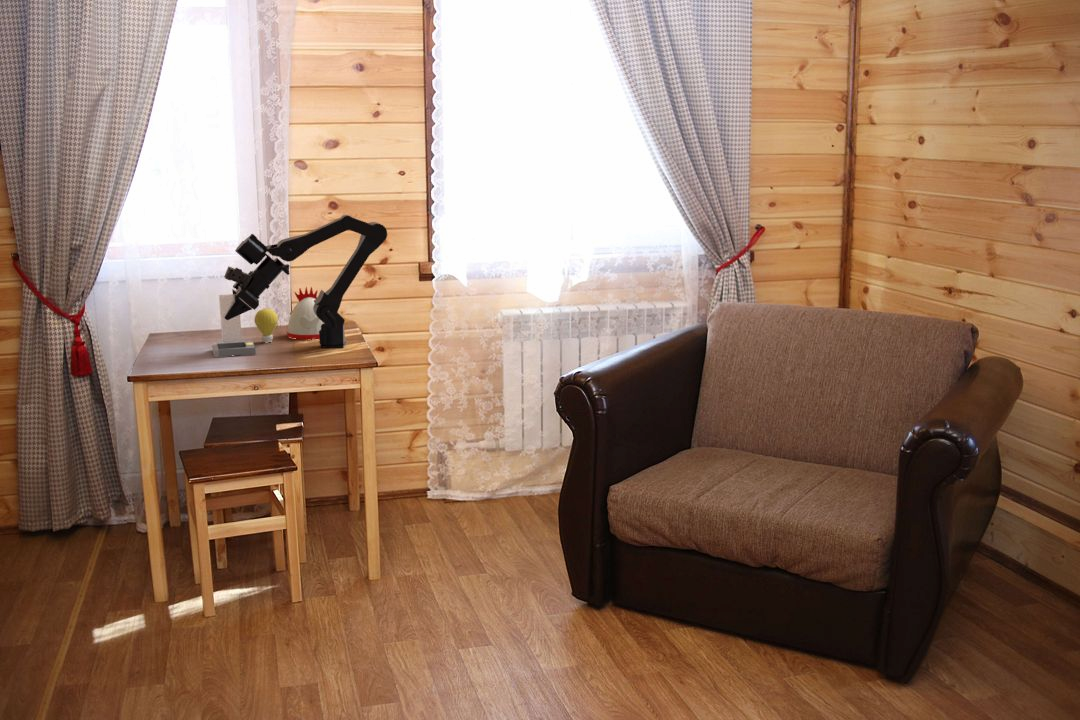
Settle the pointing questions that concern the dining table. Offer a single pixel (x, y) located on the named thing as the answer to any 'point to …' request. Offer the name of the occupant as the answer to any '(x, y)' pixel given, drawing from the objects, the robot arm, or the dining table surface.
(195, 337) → the dining table surface
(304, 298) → the kitchen timer
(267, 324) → the light bulb
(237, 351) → the plate
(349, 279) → the robot arm
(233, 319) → the rectangular block post
